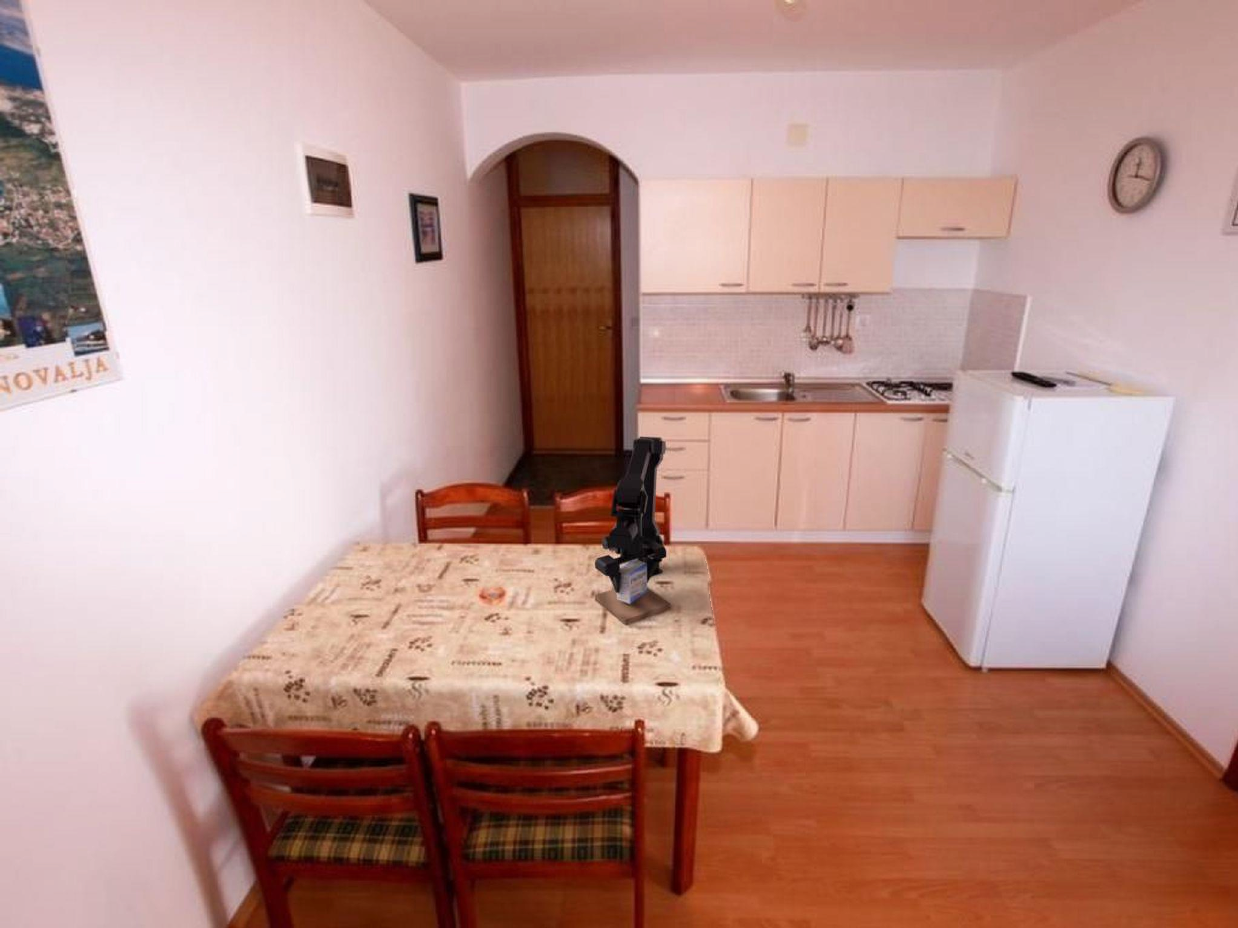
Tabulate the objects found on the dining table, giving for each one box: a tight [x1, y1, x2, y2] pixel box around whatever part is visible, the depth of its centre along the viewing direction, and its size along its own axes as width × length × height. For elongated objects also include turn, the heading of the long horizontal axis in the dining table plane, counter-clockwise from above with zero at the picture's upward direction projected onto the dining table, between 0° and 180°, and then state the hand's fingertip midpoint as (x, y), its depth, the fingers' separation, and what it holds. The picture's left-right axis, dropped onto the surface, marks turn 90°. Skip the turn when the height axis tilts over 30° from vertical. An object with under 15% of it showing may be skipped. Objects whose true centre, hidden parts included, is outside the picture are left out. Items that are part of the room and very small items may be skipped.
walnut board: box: [594, 586, 672, 626], centre depth 172 cm, size 14×15×2 cm
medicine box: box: [617, 560, 648, 604], centre depth 170 cm, size 8×4×9 cm, turn 142°
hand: (631, 587), depth 171 cm, fingers closed on medicine box, 9 cm apart
